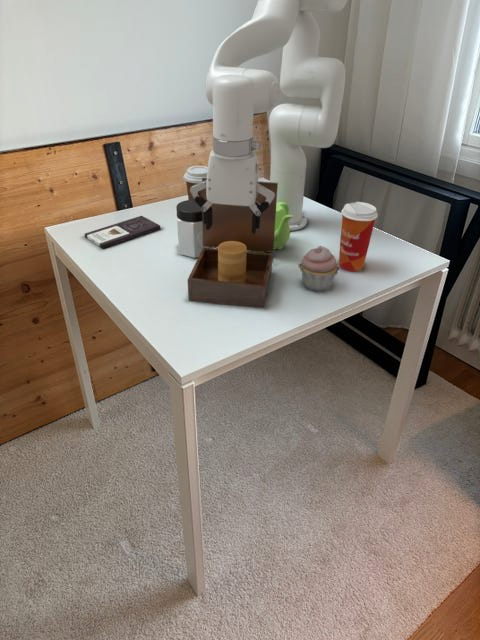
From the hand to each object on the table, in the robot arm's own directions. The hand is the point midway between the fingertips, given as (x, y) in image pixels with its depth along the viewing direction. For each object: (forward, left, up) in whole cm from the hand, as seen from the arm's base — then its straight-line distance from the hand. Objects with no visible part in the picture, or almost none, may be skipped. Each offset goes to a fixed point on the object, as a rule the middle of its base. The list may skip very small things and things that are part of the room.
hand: (231, 229), depth 107 cm
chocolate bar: (-16, -37, -14) cm, 43 cm away
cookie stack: (0, 0, -14) cm, 14 cm away
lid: (-8, -1, -1) cm, 8 cm away
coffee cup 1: (-39, -24, -15) cm, 48 cm away
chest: (0, 0, -14) cm, 14 cm away
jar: (-14, -15, -15) cm, 25 cm away
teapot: (-22, +1, -15) cm, 26 cm away
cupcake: (-8, +18, -15) cm, 24 cm away
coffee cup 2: (-20, +24, -15) cm, 34 cm away
